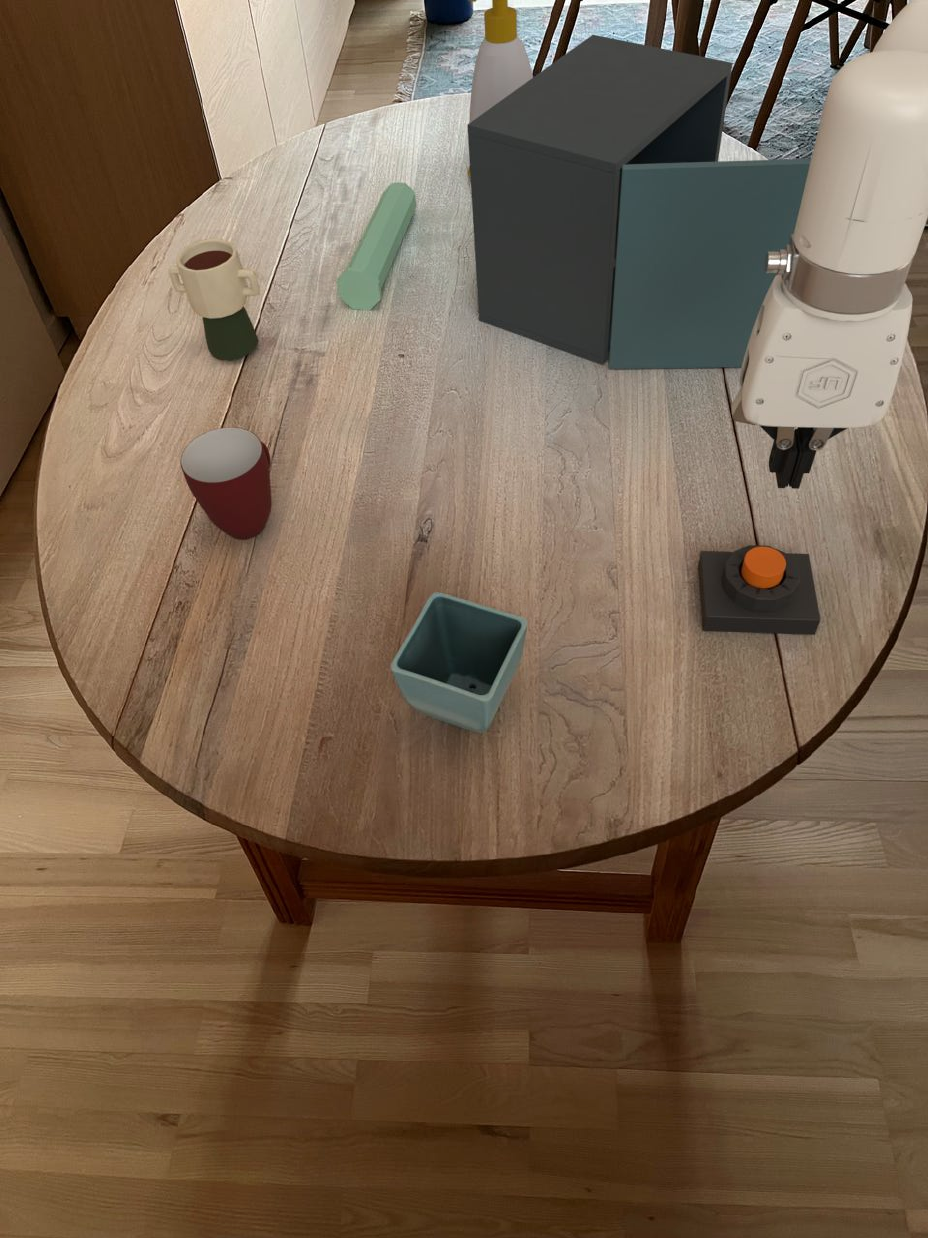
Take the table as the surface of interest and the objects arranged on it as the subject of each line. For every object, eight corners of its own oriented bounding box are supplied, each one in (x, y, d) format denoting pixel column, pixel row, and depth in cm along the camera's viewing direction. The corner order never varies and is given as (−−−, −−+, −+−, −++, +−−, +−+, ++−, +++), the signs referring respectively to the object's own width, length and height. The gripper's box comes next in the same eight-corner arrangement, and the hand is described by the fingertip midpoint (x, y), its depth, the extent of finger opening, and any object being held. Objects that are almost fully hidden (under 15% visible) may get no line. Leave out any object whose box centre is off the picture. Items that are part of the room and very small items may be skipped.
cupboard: (703, 259, 124) (732, 62, 105) (603, 365, 112) (615, 163, 93) (585, 224, 131) (592, 34, 112) (478, 320, 119) (467, 124, 100)
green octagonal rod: (388, 166, 132) (341, 261, 117) (427, 183, 133) (386, 280, 118) (377, 203, 137) (331, 300, 122) (416, 219, 138) (374, 317, 123)
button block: (804, 568, 90) (813, 540, 87) (815, 635, 86) (825, 607, 82) (697, 565, 92) (703, 537, 88) (702, 631, 87) (708, 603, 84)
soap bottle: (451, 180, 141) (435, -21, 121) (499, 149, 146) (492, -49, 126) (510, 202, 136) (504, -5, 116) (558, 168, 141) (560, -35, 121)
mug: (233, 479, 103) (208, 407, 96) (302, 487, 102) (282, 414, 94) (196, 549, 97) (166, 478, 89) (269, 559, 96) (245, 487, 88)
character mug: (284, 335, 120) (260, 239, 109) (267, 370, 115) (240, 273, 105) (204, 330, 121) (173, 235, 111) (184, 364, 117) (150, 269, 107)
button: (779, 559, 87) (783, 546, 85) (784, 589, 84) (788, 576, 83) (739, 558, 87) (742, 545, 86) (742, 588, 85) (746, 575, 83)
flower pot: (531, 679, 85) (530, 617, 78) (493, 760, 80) (489, 702, 73) (442, 651, 87) (433, 589, 80) (400, 727, 82) (387, 668, 75)
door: (848, 404, 104) (914, 197, 86) (610, 407, 107) (625, 205, 88) (835, 360, 109) (895, 155, 91) (608, 363, 112) (622, 164, 93)
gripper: (734, 301, 60) (694, 506, 75) (979, 303, 59) (890, 512, 73) (725, 238, 65) (689, 443, 79) (952, 238, 63) (873, 447, 78)
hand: (786, 476), depth 76 cm, fingers closed
